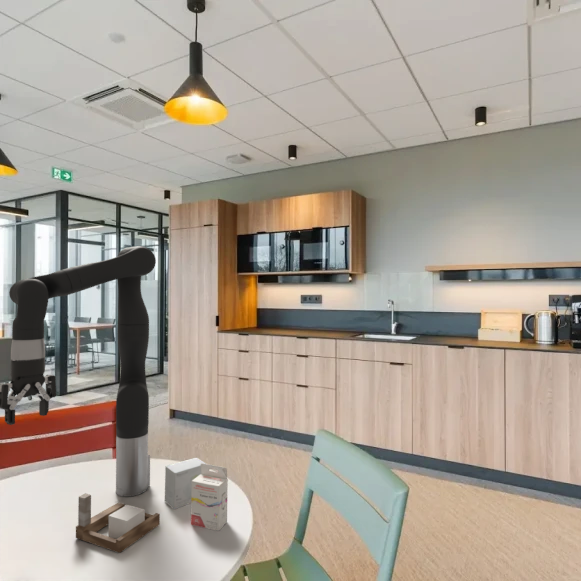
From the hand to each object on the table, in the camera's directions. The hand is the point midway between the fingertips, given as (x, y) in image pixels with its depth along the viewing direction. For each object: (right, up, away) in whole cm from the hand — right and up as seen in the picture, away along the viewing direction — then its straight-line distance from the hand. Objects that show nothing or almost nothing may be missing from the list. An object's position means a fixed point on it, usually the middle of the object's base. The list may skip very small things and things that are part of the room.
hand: (27, 419), depth 109 cm
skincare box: (+37, -29, +16) cm, 49 cm away
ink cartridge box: (+46, -29, +3) cm, 54 cm away
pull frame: (+25, -28, -2) cm, 38 cm away
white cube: (+27, -29, -3) cm, 39 cm away
